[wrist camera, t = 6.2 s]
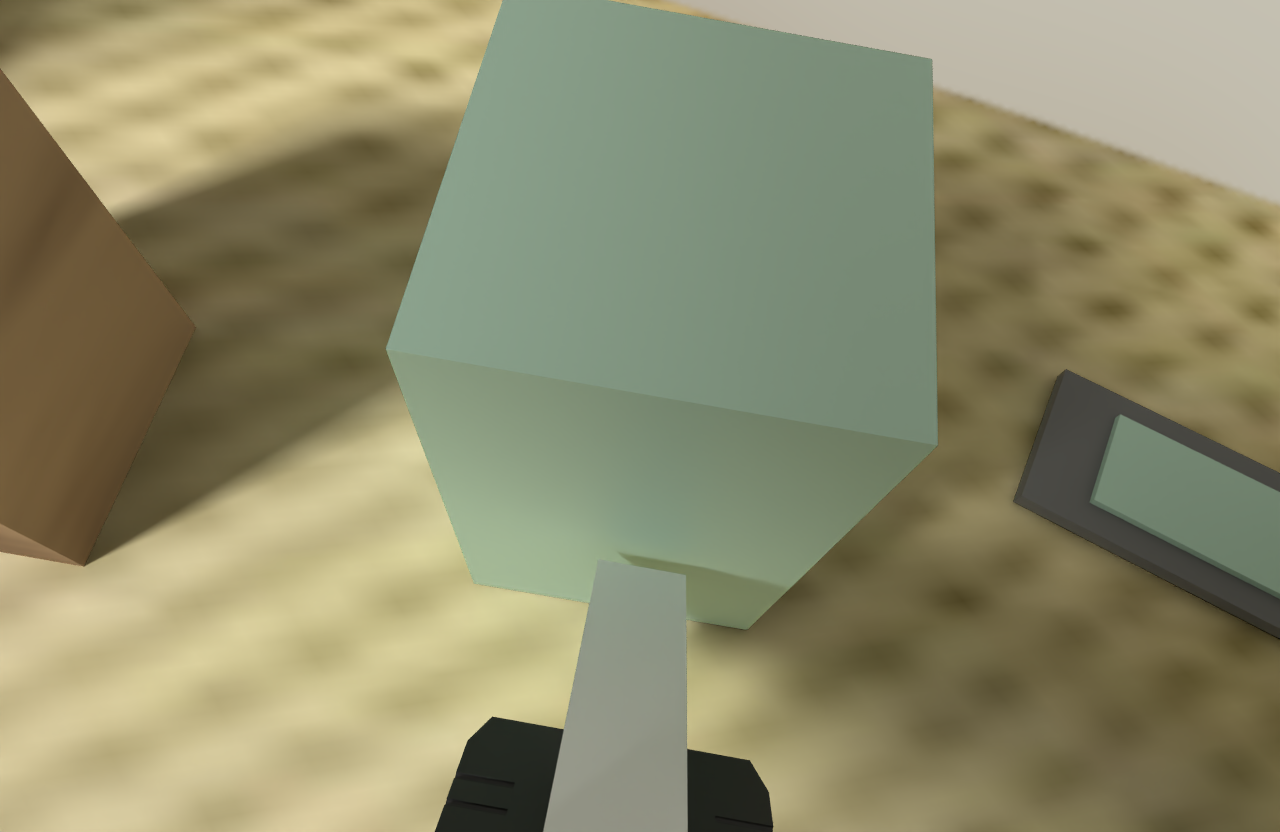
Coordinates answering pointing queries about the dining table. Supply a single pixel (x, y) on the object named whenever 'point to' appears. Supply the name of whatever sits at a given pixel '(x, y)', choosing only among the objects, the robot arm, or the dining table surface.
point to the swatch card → (1159, 498)
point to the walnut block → (70, 346)
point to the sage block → (674, 302)
